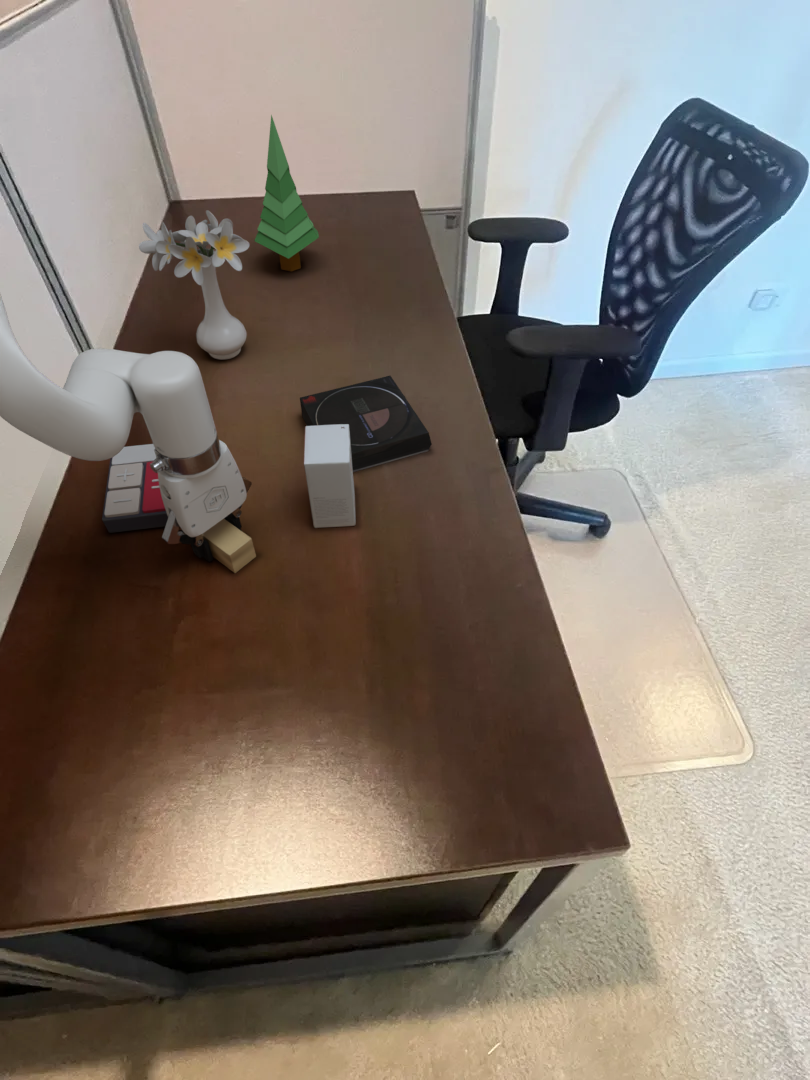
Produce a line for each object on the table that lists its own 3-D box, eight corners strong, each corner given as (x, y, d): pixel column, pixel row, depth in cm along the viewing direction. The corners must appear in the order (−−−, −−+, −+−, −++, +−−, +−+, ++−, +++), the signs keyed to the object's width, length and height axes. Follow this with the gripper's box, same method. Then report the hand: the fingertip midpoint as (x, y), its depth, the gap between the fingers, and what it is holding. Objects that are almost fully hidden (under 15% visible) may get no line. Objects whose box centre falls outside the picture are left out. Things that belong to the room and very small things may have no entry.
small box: (313, 490, 104) (304, 424, 94) (354, 488, 104) (349, 422, 94) (312, 529, 99) (303, 464, 89) (355, 527, 99) (350, 461, 89)
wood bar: (256, 556, 95) (251, 538, 92) (235, 573, 93) (229, 555, 90) (206, 520, 100) (200, 501, 97) (184, 535, 98) (178, 517, 95)
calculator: (99, 517, 95) (109, 444, 104) (109, 536, 98) (118, 463, 107) (178, 508, 96) (182, 436, 105) (185, 527, 100) (188, 455, 109)
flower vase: (183, 331, 133) (146, 200, 114) (275, 334, 132) (253, 203, 113) (163, 370, 124) (120, 236, 105) (261, 374, 124) (236, 239, 105)
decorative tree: (319, 247, 156) (305, 99, 133) (323, 281, 146) (308, 127, 123) (260, 251, 155) (236, 102, 132) (260, 285, 144) (233, 130, 122)
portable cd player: (431, 450, 110) (432, 431, 107) (332, 477, 106) (330, 459, 103) (393, 393, 120) (393, 374, 117) (302, 416, 116) (299, 397, 113)
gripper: (150, 501, 77) (189, 595, 91) (261, 427, 85) (281, 523, 99) (112, 472, 80) (155, 567, 94) (222, 403, 88) (246, 500, 102)
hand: (219, 543), depth 96 cm, fingers open, 4 cm apart
